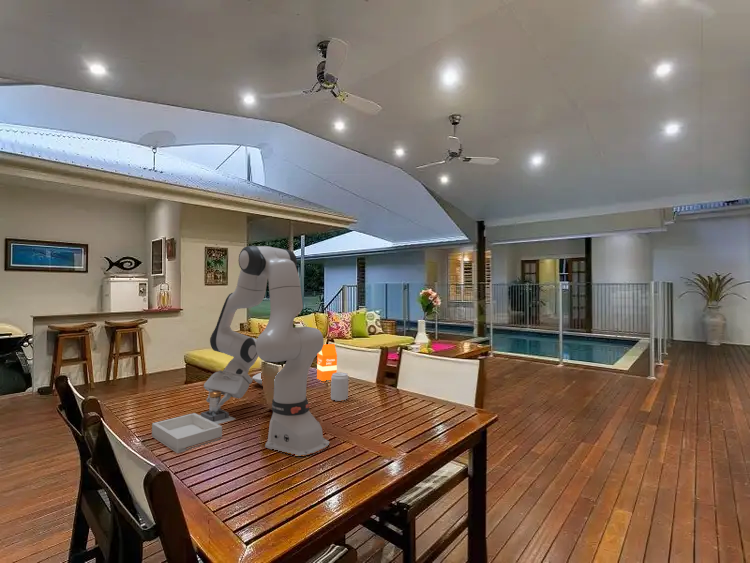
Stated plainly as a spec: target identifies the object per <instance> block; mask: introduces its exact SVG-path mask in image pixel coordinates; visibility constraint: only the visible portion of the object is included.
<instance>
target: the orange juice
mask: <svg viewBox="0 0 750 563" xmlns="http://www.w3.org/2000/svg"><path fill="white" fill-rule="evenodd" d="M316 356H317V357H316V358H317V362H316V380H317V379H319V380H321V381H326V380H331V377H332V374H333V373H338V368H337V367H338V354H337V349H336V345H335V343H329V344H323V348H322V350H321V351H320V352H319V353H318V354H317V355H316ZM319 380H318V381H319ZM321 381H320V382H321Z"/></svg>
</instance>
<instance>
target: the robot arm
mask: <svg viewBox="0 0 750 563" xmlns="http://www.w3.org/2000/svg"><path fill="white" fill-rule="evenodd" d="M297 265H298V260H297V257H296V254H295V253H294V252H293V251H292V250H290V249H286V248H279V247H272V246H270V245H269V246H267V245H262V246H261V245H259V246H257V245H249V246H245V247H243V248H242V249H241V250H240V253H239V255H238V266H239V268H240V272H239V276H238V279H237V284H236V288H235V289H234V291H233V292H231V293H229V294H228V295H227V297H225V298H226V299H225V300H224V303H223V305H222V309H221V311H220V314H219V316H218V320H217V323H216V325H215V328H214V329H213V332H212V333H211V335H210V338H209V344H210V346H211V349H212V350H213V351H214V352H218V353H221V354H225V355H227V356H229V357H233V358H232V359H230V361H229V362H228V363H227V364H226V366H225V367H224V369H223V370H218V371H215V372H214V373H213V374H211V375H210V377H208V378H207V380H206V381H205V382H204V383H203V388H204V389H205V390H206V391H208V396H207V397H206V399H205V401H206V402H207V403H208V404H210V397H209V394H210V392H212V391H220V392H221V396H222V395H223V397H221V399H219V401H218V402H217V404H218V405H220V407H223V405H224V404H225V403H226V402H227V401H228V400H230V399H231V397H232V398H235V399H242V398H243V396H244V395H245V394H246V392H247V391H248V389H249V387H250V385H251V384H252V383H253V381H254V379H252V376H250V374H248V373H249V372H250V369H251V368H252V366H253V365H254V364H255V363H256V361H257V359H258V358H259V359H260V360H262V361H263V362H271V363H274V362H275V363H279V362H285V361H286V362H285V364H284V366H283V367H282V369H280V372H278V373H277V375H276V376H275V379H274V388H273V398H272V400H271V401H272V403H271V411H272V415H271V418H270V420H269V427H268V435H267V441H266V442H265V444H264V447H265V448H267V449H268V450H272V449H274V450H273V451H275V450H278V451H277V452H279V451H282V452H287V453H291V454H295V455H298V456H301V455H307V454H310V453H314V452H316V451H319V450H320V449H323V448H325V447H326V446H328V445H329V443H330V441H329V440H327V439H326V438H325V437H324V436H323V428H322V425H321V423H320V421H319V420H317V419H316V418H315V416H314V415H313V414H312V413H311V411H310V408H311V407H312V403H309V401H308V397H307V385H308V384H307V382H308V375H309V371H310V368H311V366H312V364H313V362H314V360H315V358H317V357H316V356H317V354H318V353H319V352H320V351H321V350H322V348H323V345H325V343H324V340H325V339H324V336H323V335H324V334H323V333H322V331H321V330H320V329H318V328H316V327H312V326H311V327H310V326H299V327H298V326H297V327H294V321H295V318H296V317H297V316H298V315H299V314H300V313H301V312H302V310H303V308H304V304H303V297H302V289H301V286H302V285H301V281H300V276H299V272H298V269H297ZM267 284H268V286H267ZM267 287H268V293H269V305H270V307H269V308H270V312H269V313H270V314H269V320H268V322H267V325H266V327H265V328H264V330H263V331H262V332H261V333H260V334H259V335H258V337H257V338H254V337H251V336H248V335H245V334H243V333H240V332H238V331H234V330H232V328H231V325H232V321H233V319H234V316H235V313H236V311H238V310H239V309H242V310H243V309H251V308H253V307H257V306H258V305H260V304H262V302H263V301H264V298H265V296H266V291H267ZM330 444H331V443H330ZM329 446H330V445H329ZM282 452H281V453H282Z"/></svg>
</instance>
